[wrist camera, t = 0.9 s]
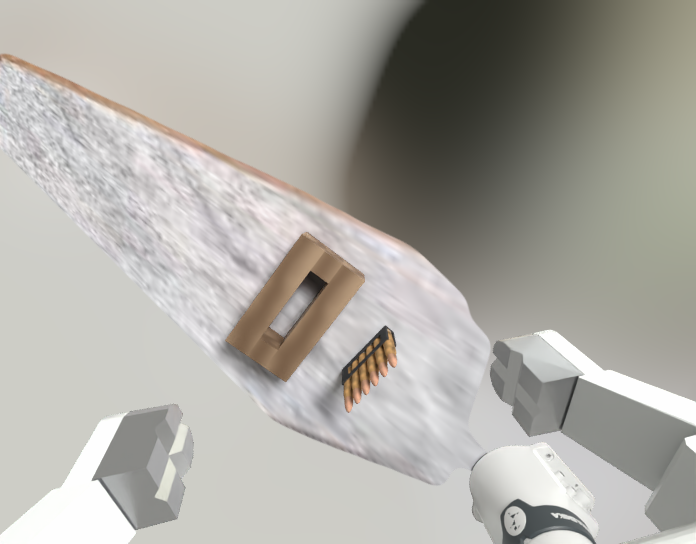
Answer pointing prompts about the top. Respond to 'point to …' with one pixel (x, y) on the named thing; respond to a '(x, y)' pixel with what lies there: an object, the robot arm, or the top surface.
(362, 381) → the ammunition clip
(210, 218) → the top surface
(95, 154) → the top surface
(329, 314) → the slotted wooden block
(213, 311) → the top surface
